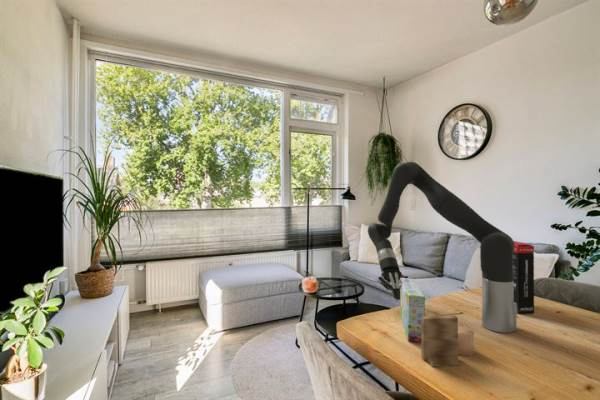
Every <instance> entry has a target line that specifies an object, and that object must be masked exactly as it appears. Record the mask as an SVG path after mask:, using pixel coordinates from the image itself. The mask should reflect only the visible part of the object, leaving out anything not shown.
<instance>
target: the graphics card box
mask: <svg viewBox="0 0 600 400" xmlns="http://www.w3.org/2000/svg"><path fill="white" fill-rule="evenodd" d="M513 241H514V244H515V249H514V251H513V253H512V269H513V274H514V302H516V304H517V315H518V314H520V315H521V314H523V315H524V314H525V315H526V314H528V315H529V314H535V247H534V245H532V244H527V243H524V242H519V241H515V240H513Z"/></svg>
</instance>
